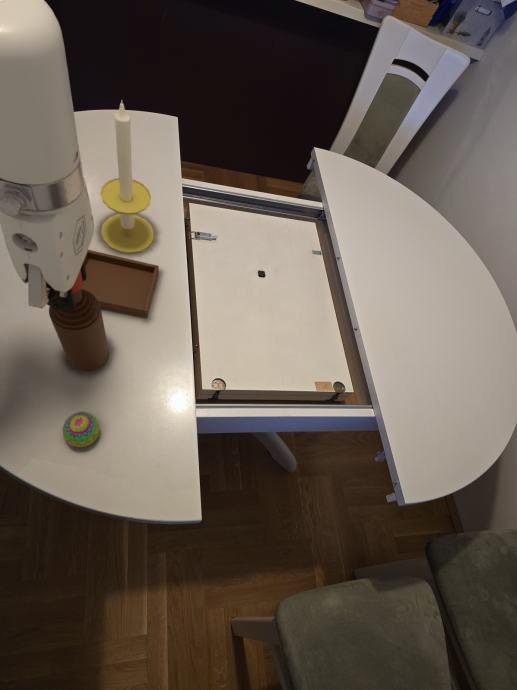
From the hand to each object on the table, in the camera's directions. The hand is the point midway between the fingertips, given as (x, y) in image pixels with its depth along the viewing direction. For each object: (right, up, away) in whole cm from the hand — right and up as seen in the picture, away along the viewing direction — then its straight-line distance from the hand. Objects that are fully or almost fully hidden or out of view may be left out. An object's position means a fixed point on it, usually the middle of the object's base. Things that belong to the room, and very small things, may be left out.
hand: (67, 290), depth 48 cm
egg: (-3, -20, +10) cm, 23 cm away
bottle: (-4, -8, +16) cm, 18 cm away
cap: (0, +1, -2) cm, 2 cm away
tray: (-2, +4, +23) cm, 23 cm away
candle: (-2, +15, +29) cm, 33 cm away
